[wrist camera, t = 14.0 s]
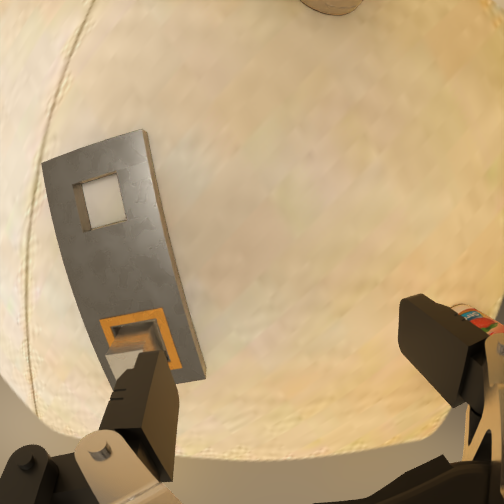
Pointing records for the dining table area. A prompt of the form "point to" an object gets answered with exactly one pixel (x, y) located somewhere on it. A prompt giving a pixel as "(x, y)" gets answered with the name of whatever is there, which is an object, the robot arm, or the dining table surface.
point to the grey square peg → (133, 345)
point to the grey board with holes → (122, 252)
